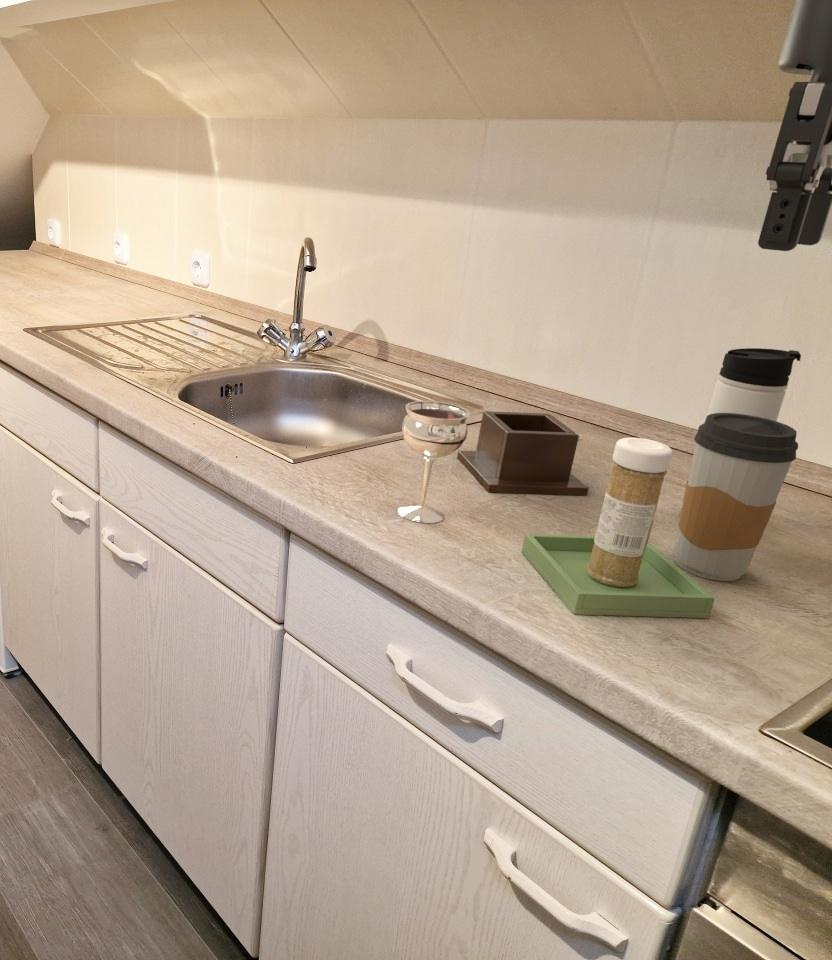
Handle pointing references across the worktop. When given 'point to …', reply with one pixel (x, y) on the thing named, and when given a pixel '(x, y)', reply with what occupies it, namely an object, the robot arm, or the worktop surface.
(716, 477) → the coffee cup
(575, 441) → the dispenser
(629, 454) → the sprinkles bottle
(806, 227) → the robot arm
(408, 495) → the worktop surface
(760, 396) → the travel mug
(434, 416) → the wineglass
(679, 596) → the tray
